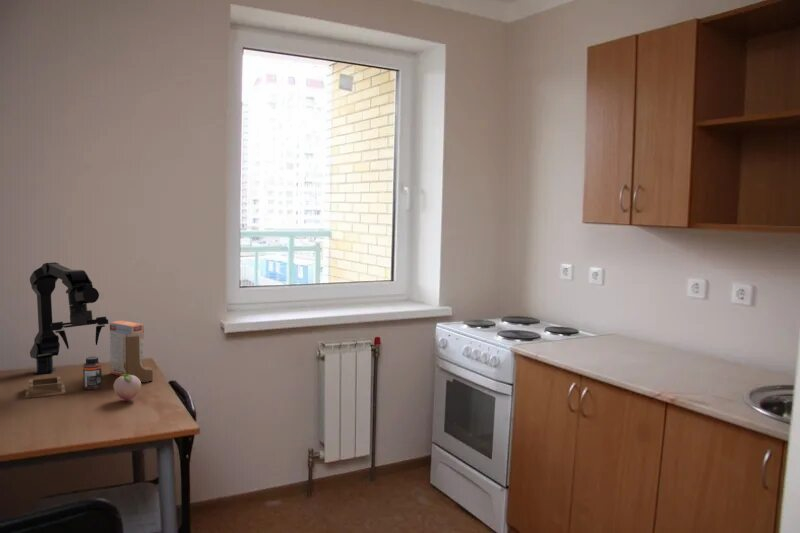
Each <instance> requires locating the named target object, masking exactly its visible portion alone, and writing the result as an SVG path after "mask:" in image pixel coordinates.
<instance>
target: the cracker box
mask: <svg viewBox="0 0 800 533" xmlns="http://www.w3.org/2000/svg"><path fill="white" fill-rule="evenodd" d="M144 332H145V329H144V324H143V323H138V322H133V321H125V320H115V321H110V322H109V364H110V368H109V371H110V372H109V373H110V374H112V375H115V376H119V377H120V376H121V375H122V374H126V335H131V334H138V335H139V343H140V364H141V365H142V366H143V367H145V352H144V351H145V348H144V346H145V342H144V341H145V338H144V337H145V336H144V335H145V333H144Z"/></svg>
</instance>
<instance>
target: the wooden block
mask: <svg viewBox="0 0 800 533" xmlns="http://www.w3.org/2000/svg"><path fill="white" fill-rule="evenodd" d="M126 372H127V374H129V375H134V376H136V377H137V378H138V379H139V380H140V381H141V382H142V383H150V382H149V381H152V382H153V381H154V380H153V379H154V377H153V376H154V375H153V374H154V372H153V368H152V367H150V366H144V367H143V366H142V365H141V364H140V343H139V335H138V334H131V335H126Z"/></svg>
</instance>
